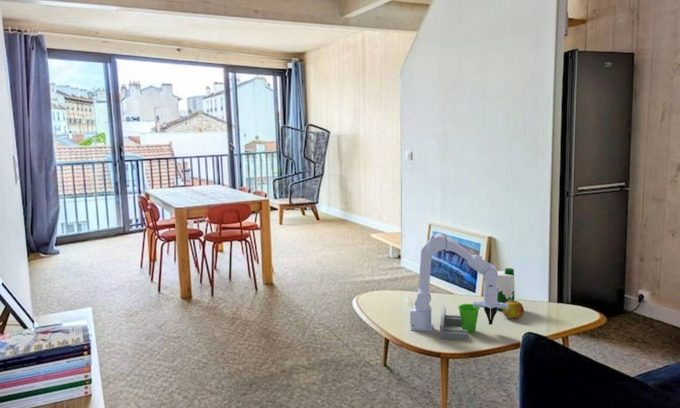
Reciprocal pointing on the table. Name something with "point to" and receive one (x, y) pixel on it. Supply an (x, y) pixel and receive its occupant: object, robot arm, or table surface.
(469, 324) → the cup
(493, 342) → the table surface
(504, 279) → the milk carton
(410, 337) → the table surface
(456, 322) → the rack
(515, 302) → the fruit
